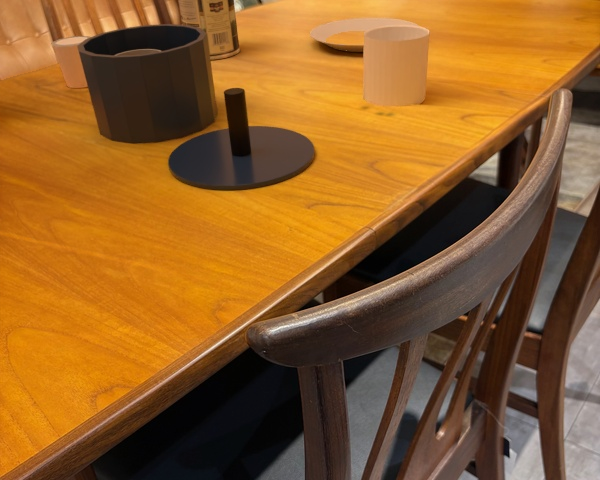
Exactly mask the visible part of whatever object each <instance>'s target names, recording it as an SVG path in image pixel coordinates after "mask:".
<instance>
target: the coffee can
mask: <svg viewBox="0 0 600 480" xmlns="http://www.w3.org/2000/svg"><path fill="white" fill-rule="evenodd" d="M177 1H178V2H177V3H178V6H179V12H180V13H179V14H180V17H181V18H180V19H181V25H189V26H193V27H198V28H201V29H202V30H203V31H205V32H206V33H207V39H208V46H209V53H210V61H216V60H222V59H227V58H230V57H233V56H236V55H237V54H239V53H240V52H241V48H240V43H239V42H240V41H239V34H238V33H239V32H238V24H237V17H236V8H235V0H177Z"/></svg>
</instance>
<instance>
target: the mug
mask: <svg viewBox="0 0 600 480" xmlns="http://www.w3.org/2000/svg"><path fill="white" fill-rule="evenodd" d="M429 47H430V29H428V28H427V27H424V26H420V25H419V26H414V25H386V26H379V27H374V28H371V29H368V30H366V31H365V32H364V51H363V52H362V54H363V57H362V59H363V62H362V63H363V67H362V68H363V69H362V70H363V71H362V72H363V75H362V76H363V77H362V81H363V82H362V85H363V87H362V88H363V89H362V94H363V95H362V98H363V100H364V101H365V102H367V103H369V104H372V105H375V106H379V107H390V108H392V107H406V106H407V107H408V106H412V105H422V103H423V102H424V100H425V99H426V96H427V95H426V94H427V93H426V92H427V78H428V77H427V76H428V62H429V49H430V48H429Z"/></svg>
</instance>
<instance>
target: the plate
mask: <svg viewBox="0 0 600 480" xmlns="http://www.w3.org/2000/svg"><path fill="white" fill-rule="evenodd" d="M386 25H414V26H420V25H419V24H417V23H415V22H414V21H413V22H412V21H409V20H405V19H400V18H392V17H356V18H346V19H340V20H334V21H330V22H325V23H322V24H320V25H317V26H315V27H314V28H312V29H311V30H310V32H309V36H310V38H312V39H313V40H314V41H317V42H319V43H322V44H324V45H326V46H328V47H330V48H332V47H333V48H332V49H334V50H338V51H343V52H350V53H351V52H352V53H363V51H364V45H345V44H334V43H328V42H326V39H327V38H328V37H330V36H332V35H334V34H338V33H341V32H348V31H366V30H368V29H371V28H374V27H379V26H386ZM339 49H340V50H339ZM345 50H347V51H345Z"/></svg>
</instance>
